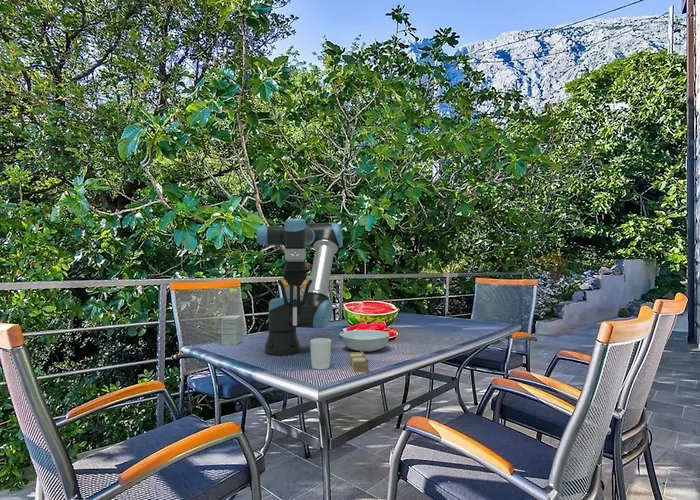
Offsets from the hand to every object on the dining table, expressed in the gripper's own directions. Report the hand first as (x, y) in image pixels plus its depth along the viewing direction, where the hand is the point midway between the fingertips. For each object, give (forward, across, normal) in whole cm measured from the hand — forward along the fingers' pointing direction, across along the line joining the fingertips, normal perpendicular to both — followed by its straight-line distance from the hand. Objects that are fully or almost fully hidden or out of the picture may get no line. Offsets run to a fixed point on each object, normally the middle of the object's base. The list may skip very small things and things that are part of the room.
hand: (294, 324), depth 157 cm
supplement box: (+16, -29, +45) cm, 56 cm away
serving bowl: (+16, +31, +27) cm, 44 cm away
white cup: (+16, +10, 0) cm, 19 cm away
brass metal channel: (+16, +24, 0) cm, 28 cm away
